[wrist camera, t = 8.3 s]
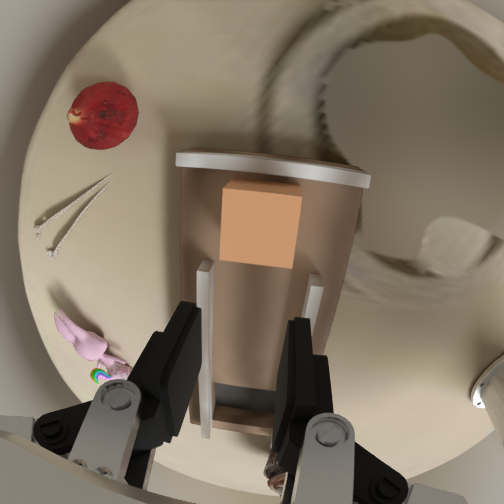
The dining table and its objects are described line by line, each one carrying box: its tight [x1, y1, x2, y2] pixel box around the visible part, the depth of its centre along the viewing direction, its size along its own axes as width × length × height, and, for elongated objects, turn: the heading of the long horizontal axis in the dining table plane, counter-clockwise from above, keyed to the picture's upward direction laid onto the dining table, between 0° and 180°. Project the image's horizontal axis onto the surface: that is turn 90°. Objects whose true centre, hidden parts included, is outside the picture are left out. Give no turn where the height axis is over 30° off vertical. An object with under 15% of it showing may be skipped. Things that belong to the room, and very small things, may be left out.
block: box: [219, 178, 302, 269], centre depth 22 cm, size 5×5×4 cm
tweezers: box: [34, 173, 112, 259], centre depth 28 cm, size 18×5×2 cm, turn 122°
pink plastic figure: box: [54, 309, 132, 384], centre depth 33 cm, size 6×6×15 cm
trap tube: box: [176, 148, 371, 448], centre depth 29 cm, size 14×34×5 cm, turn 175°
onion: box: [67, 82, 139, 150], centre depth 20 cm, size 6×6×8 cm
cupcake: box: [264, 451, 286, 496], centre depth 37 cm, size 10×10×10 cm
